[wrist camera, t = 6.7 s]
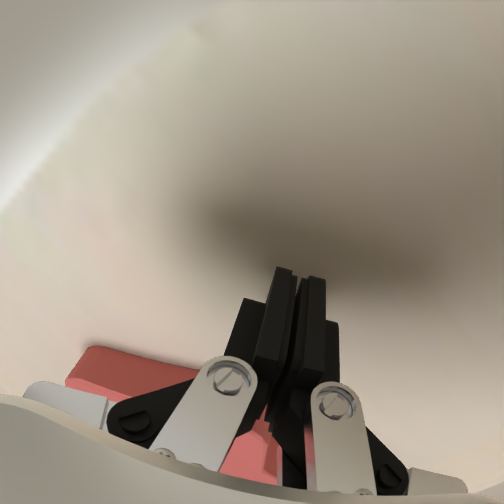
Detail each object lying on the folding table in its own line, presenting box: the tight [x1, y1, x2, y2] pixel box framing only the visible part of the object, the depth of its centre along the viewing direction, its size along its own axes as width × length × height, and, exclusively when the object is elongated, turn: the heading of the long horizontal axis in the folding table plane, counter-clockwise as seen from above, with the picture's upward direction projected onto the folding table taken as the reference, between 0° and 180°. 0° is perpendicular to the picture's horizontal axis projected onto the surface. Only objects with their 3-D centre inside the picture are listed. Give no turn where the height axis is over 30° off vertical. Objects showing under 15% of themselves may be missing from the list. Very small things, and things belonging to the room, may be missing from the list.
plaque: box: [65, 346, 278, 485], centre depth 19 cm, size 18×4×15 cm
